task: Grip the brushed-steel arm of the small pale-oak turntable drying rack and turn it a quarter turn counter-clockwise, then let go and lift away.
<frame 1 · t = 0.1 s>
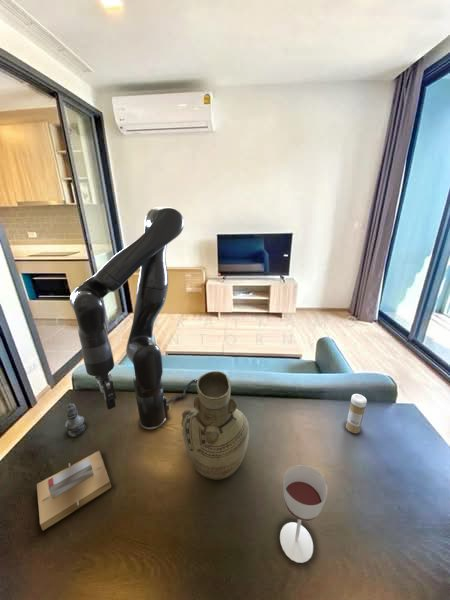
hand: (107, 399, 78), 17 cm above the table, tool pointing down, fingers open, 8 cm apart
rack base: (75, 488, 70), on the table
ceramic vessel: (216, 459, 77), on the table
sprinkles bottle: (352, 428, 88), on the table
wineglass: (296, 541, 58), on the table
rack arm: (71, 477, 68), point 5 cm above the table, hinge at 0.0°
grey stone statuette: (77, 430, 88), on the table
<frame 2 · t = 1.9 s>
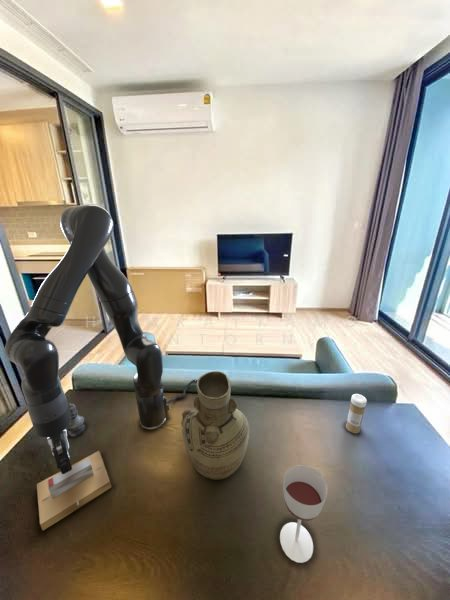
hand: (64, 458, 65), 12 cm above the table, tool pointing down, fingers open, 8 cm apart
nothing on the table moved.
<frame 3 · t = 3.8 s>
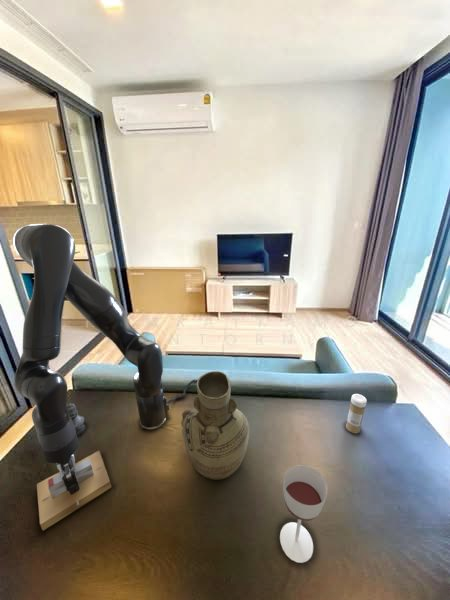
hand: (73, 481, 69), 3 cm above the table, tool pointing down, fingers closed on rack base, 5 cm apart
nothing on the table moved.
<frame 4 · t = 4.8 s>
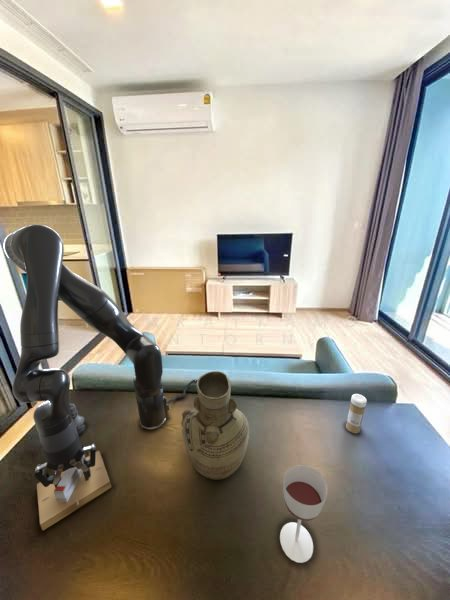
hand: (74, 483, 69), 3 cm above the table, tool pointing down, fingers open, 5 cm apart
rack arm: (71, 477, 68), point 5 cm above the table, hinge at 51.5°, touching gripper
everything else where it was.
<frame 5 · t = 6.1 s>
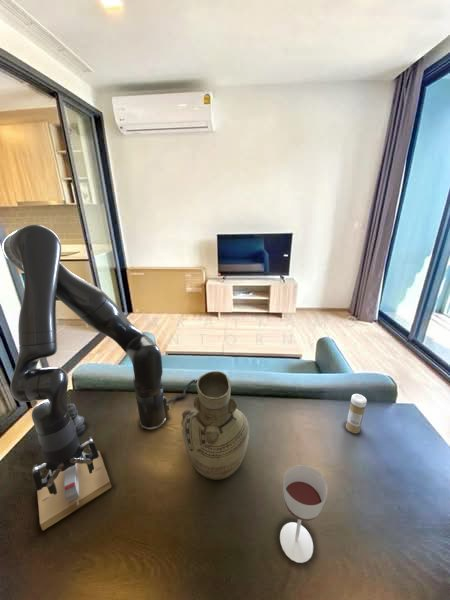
hand: (73, 480, 68), 3 cm above the table, tool pointing down, fingers open, 8 cm apart
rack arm: (71, 477, 68), point 5 cm above the table, hinge at 81.5°
everything else where it was.
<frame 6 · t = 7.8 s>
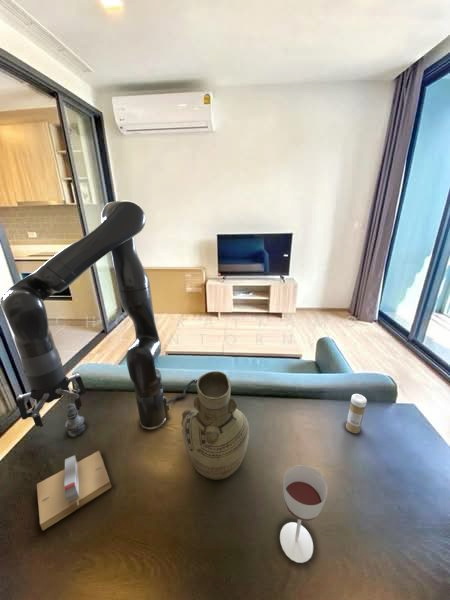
hand: (60, 416, 67), 21 cm above the table, tool pointing down, fingers open, 8 cm apart
nothing on the table moved.
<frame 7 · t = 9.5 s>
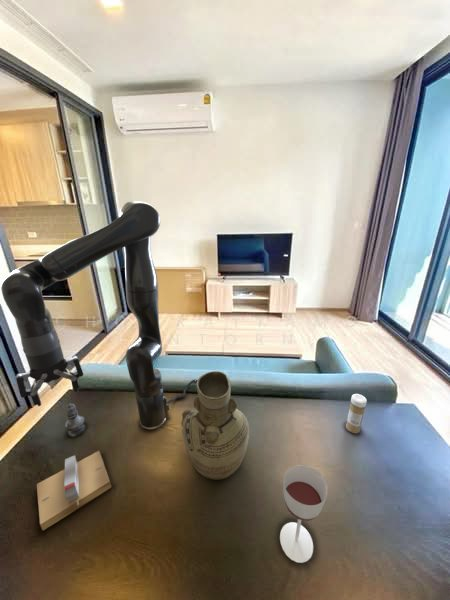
hand: (58, 397, 70), 24 cm above the table, tool pointing down, fingers open, 8 cm apart
nothing on the table moved.
at the end: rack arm at +82° (first picture: +0°); grey stone statuette moved 0.2 cm from its start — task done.
